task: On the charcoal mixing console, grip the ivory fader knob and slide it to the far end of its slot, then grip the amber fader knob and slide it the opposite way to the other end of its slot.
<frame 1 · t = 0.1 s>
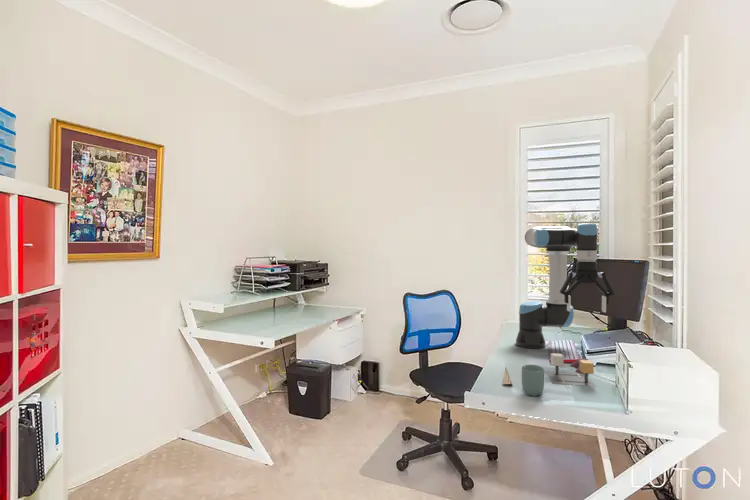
hand: (586, 311, 169), 28 cm above the table, tool pointing down, fingers open, 13 cm apart
fader amber: (586, 371, 160), point 5 cm above the table, slide at 4.5 cm
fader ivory: (557, 364, 170), point 5 cm above the table, slide at -4.5 cm
mixer console: (568, 380, 165), on the table
cup: (532, 394, 152), on the table
newspaper: (512, 379, 171), on the table
video game controller: (579, 372, 177), on the table
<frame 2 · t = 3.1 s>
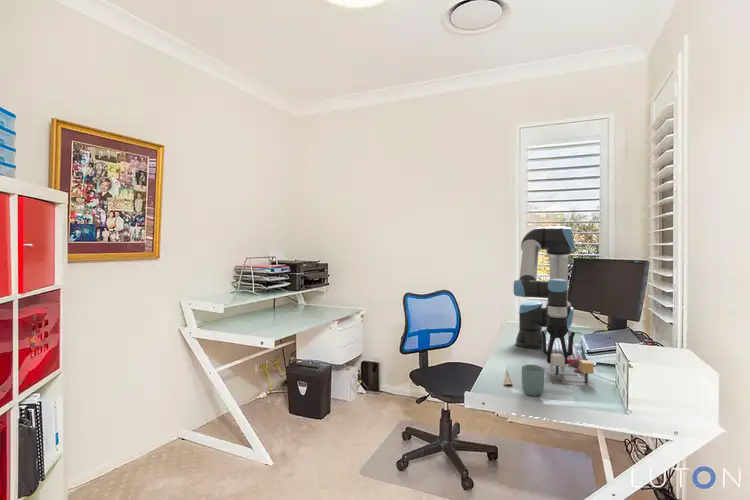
hand: (556, 370, 170), 3 cm above the table, tool pointing down, fingers closed on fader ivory, 4 cm apart
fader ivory: (557, 364, 170), point 5 cm above the table, slide at -4.5 cm, touching gripper
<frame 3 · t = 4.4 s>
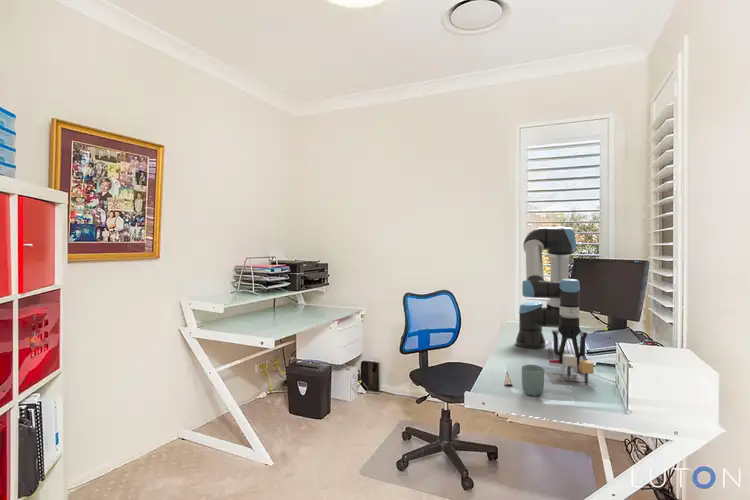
hand: (568, 371, 169), 3 cm above the table, tool pointing down, fingers closed on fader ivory, 4 cm apart
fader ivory: (568, 364, 169), point 5 cm above the table, slide at 0.2 cm, touching gripper
everything else where it was.
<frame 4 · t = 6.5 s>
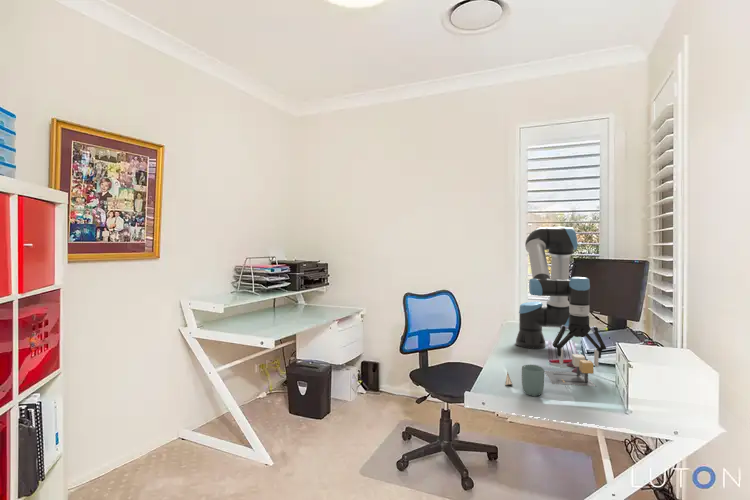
hand: (578, 364, 168), 6 cm above the table, tool pointing down, fingers open, 13 cm apart
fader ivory: (578, 365, 168), point 5 cm above the table, slide at 3.9 cm
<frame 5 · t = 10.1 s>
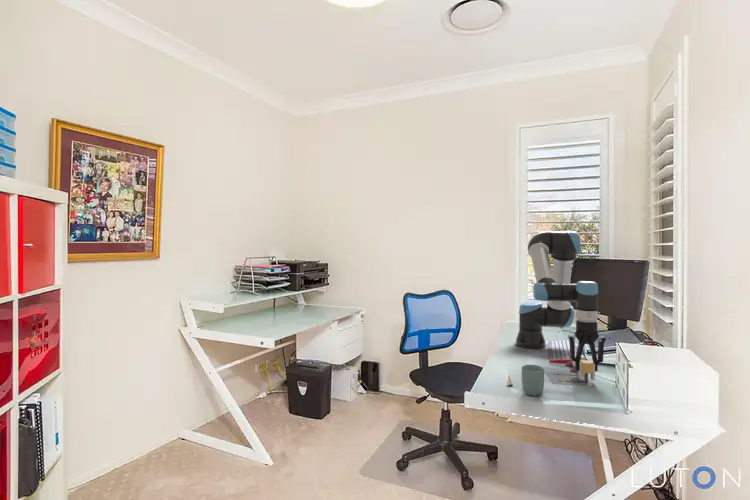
hand: (586, 378, 160), 3 cm above the table, tool pointing down, fingers closed on fader amber, 4 cm apart
fader amber: (586, 371, 160), point 5 cm above the table, slide at 4.5 cm, touching gripper
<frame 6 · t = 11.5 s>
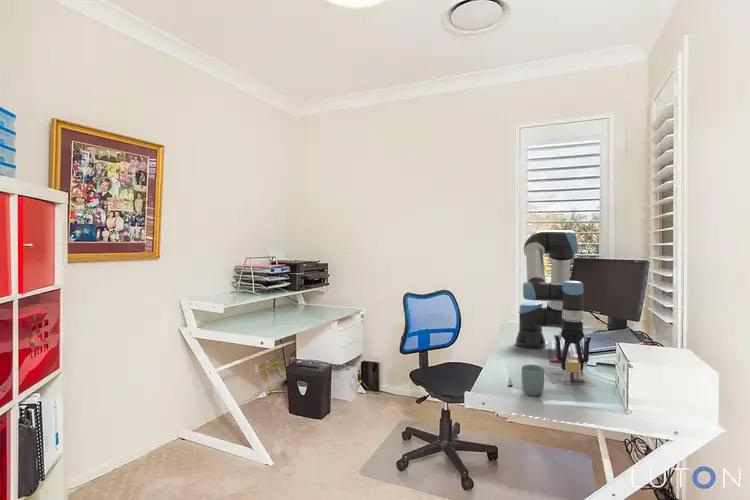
hand: (571, 377, 161), 3 cm above the table, tool pointing down, fingers closed on fader amber, 4 cm apart
fader amber: (572, 370, 161), point 5 cm above the table, slide at -0.8 cm, touching gripper
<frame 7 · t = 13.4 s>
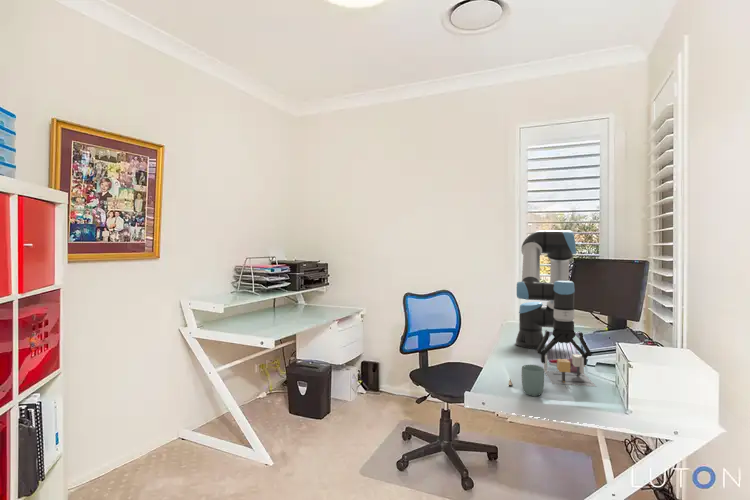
hand: (563, 372, 162), 5 cm above the table, tool pointing down, fingers open, 13 cm apart
fader amber: (563, 370, 162), point 6 cm above the table, slide at -3.9 cm
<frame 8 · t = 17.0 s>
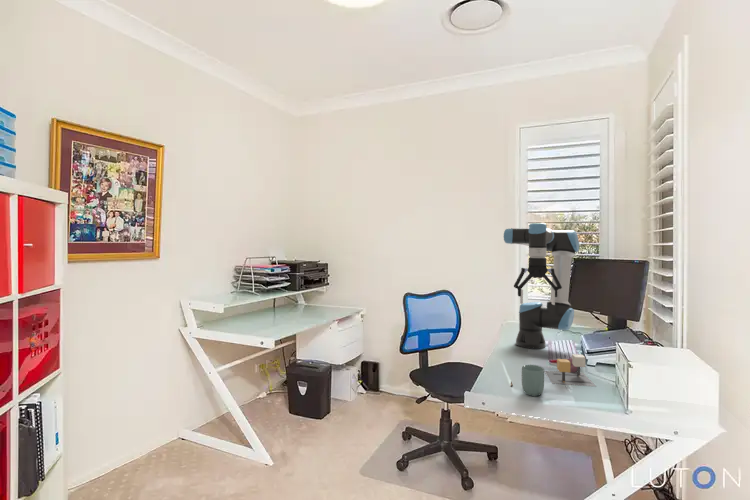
hand: (537, 304, 183), 29 cm above the table, tool pointing down, fingers open, 13 cm apart
at the end: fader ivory slide at 3.9 cm; fader amber slide at -3.9 cm; the gripper is holding nothing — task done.
